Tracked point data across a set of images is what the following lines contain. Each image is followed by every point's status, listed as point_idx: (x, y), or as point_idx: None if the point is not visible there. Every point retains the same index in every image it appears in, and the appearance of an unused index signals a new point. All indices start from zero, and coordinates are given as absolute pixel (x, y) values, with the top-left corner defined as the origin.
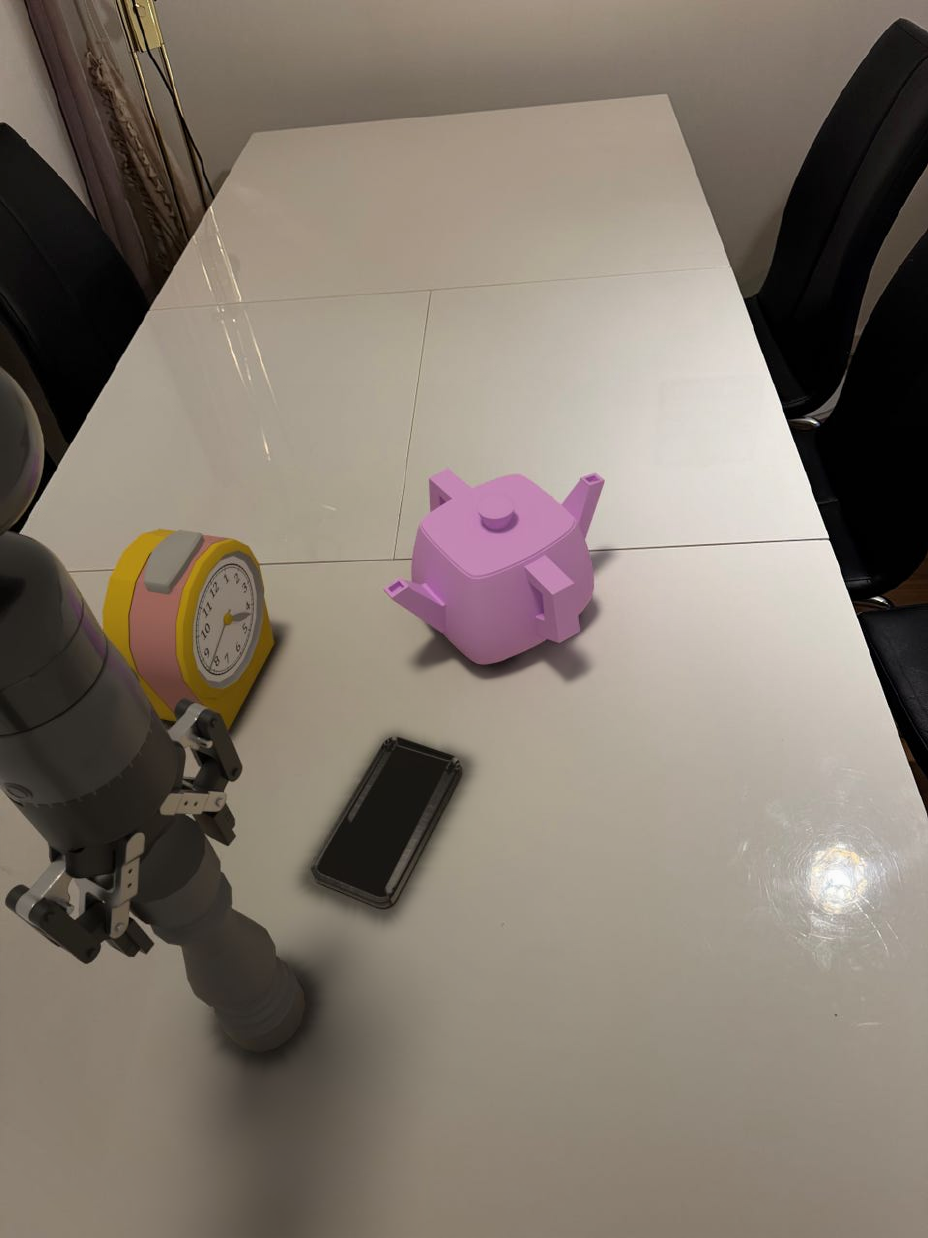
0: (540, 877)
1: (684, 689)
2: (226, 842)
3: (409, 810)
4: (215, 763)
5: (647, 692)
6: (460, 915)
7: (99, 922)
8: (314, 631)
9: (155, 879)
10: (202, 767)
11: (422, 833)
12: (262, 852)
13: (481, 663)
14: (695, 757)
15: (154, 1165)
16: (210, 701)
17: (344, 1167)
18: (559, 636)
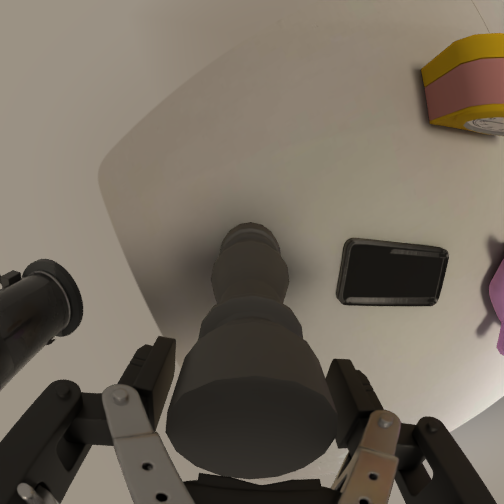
0: (369, 367)
1: (464, 379)
2: None
3: (403, 288)
4: (416, 460)
5: (465, 367)
6: (341, 339)
7: (108, 441)
8: (497, 160)
9: (214, 452)
10: (412, 448)
11: (389, 303)
12: (355, 192)
13: (489, 289)
14: (431, 398)
15: (144, 229)
16: (452, 118)
17: (188, 331)
18: (499, 349)
